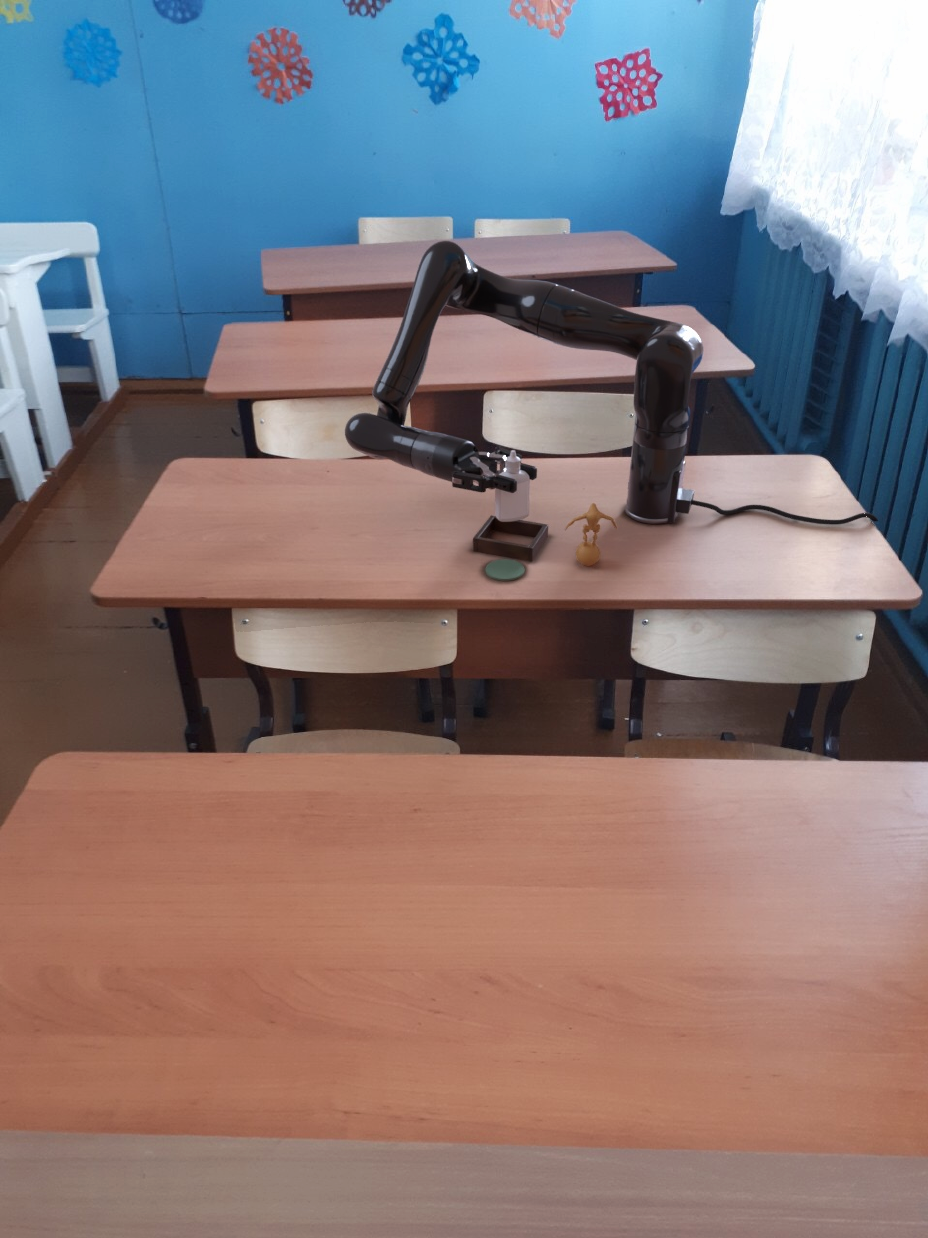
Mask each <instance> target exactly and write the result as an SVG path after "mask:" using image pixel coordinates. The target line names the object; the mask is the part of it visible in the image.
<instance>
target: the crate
mask: <svg viewBox="0 0 928 1238" xmlns="http://www.w3.org/2000/svg"><path fill="white" fill-rule="evenodd" d="M494 531H495V532H502V533H508V534H514V535H519V536H527V537H531V538H533V539H532V541H531V543H530V544H529V545H528V544H522V543H516V542H512V541H511V542H510V541H504V540H500V539H494V538H489V537H490V536H491V534H492V533H493V532H494ZM548 534H549V524H547V523H541V522H536V521H529V520H523V519H521V520H517V521H511V522H501V521H499V520H498V519H497V518H496V516H495V515H490V516H489V517H488V518H487V520H486V521H485V522H484V524H483V525H482V526H481V527H480V529H479V530H478V531H477V532H476V534H475V535H474V536H473V538H472V550H473V552H478V553H482V554H487V555H488V554H489V555H494V556H498V557H499V556H500V557H505V558H510V559H517V560H522V561H528V562H533V561H534V559H535V558H536V556H537V555H538V553H539V552H540V550H541V548H542V547H543V545H544V544H545V542H546V541H547V539H548V537H549V535H548Z"/></svg>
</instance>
